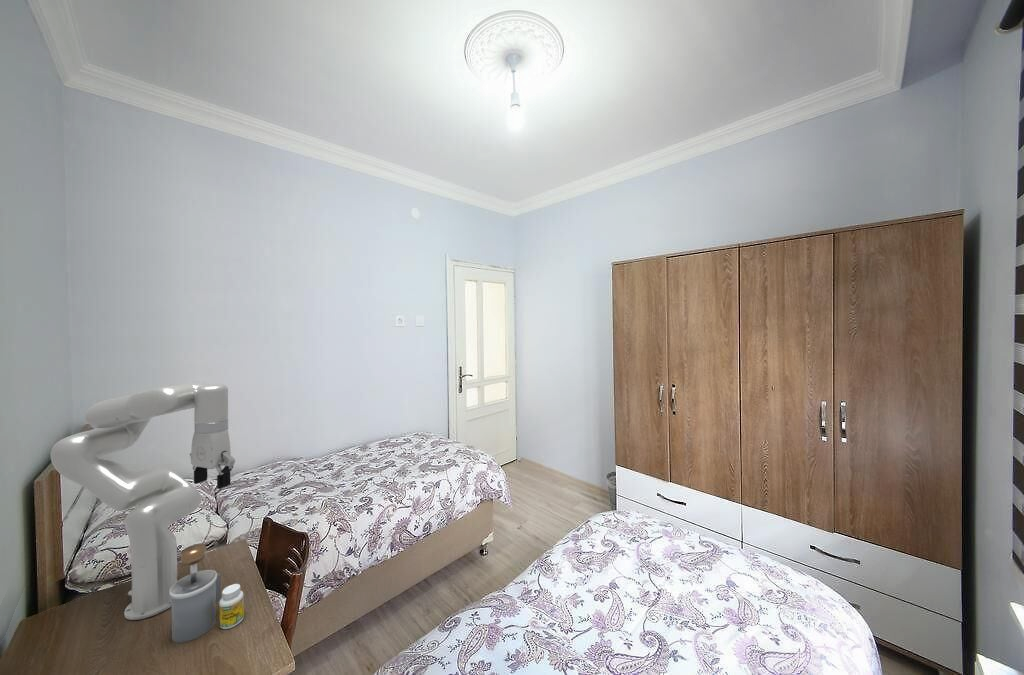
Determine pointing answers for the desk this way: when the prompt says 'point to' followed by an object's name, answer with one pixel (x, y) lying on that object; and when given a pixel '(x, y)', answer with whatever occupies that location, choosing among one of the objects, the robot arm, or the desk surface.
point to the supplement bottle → (231, 606)
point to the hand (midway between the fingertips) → (212, 484)
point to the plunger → (193, 558)
